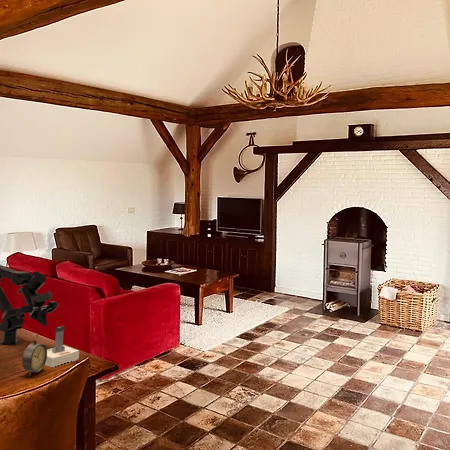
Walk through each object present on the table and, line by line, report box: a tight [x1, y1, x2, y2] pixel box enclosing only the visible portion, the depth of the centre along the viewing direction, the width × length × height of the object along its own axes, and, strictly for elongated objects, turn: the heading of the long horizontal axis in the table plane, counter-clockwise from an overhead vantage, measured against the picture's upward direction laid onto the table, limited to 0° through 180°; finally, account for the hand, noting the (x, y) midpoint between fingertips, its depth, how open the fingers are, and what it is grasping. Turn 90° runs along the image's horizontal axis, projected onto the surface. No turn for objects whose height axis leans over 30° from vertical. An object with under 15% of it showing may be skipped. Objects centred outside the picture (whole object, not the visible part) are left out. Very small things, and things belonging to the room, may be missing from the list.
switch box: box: [44, 345, 80, 368], centre depth 203 cm, size 10×14×6 cm
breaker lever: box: [54, 325, 66, 351], centre depth 203 cm, size 2×3×10 cm
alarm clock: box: [21, 332, 48, 378], centre depth 187 cm, size 11×5×16 cm, turn 168°
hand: (45, 325), depth 207 cm, fingers closed
